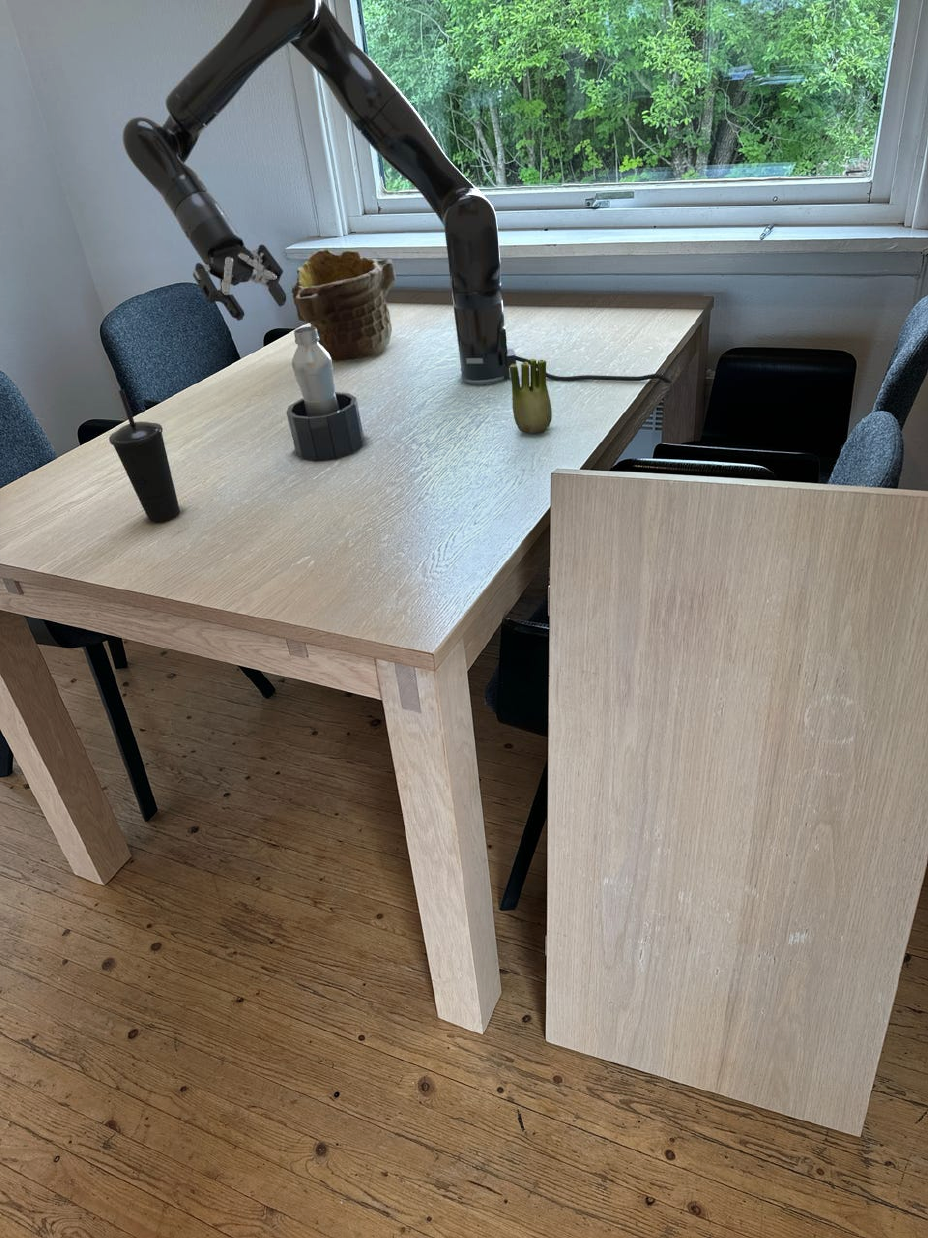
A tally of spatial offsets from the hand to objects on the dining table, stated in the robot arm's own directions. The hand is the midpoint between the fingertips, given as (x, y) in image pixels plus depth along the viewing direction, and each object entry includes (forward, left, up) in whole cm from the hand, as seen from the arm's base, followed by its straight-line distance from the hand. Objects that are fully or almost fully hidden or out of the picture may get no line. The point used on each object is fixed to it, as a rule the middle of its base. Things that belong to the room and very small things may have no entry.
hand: (262, 310), depth 146 cm
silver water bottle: (-8, +9, -22) cm, 25 cm away
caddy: (-8, +9, -22) cm, 25 cm away
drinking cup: (+16, +29, -22) cm, 39 cm away
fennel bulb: (-43, +13, -22) cm, 50 cm away
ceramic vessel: (-7, -43, -22) cm, 49 cm away
